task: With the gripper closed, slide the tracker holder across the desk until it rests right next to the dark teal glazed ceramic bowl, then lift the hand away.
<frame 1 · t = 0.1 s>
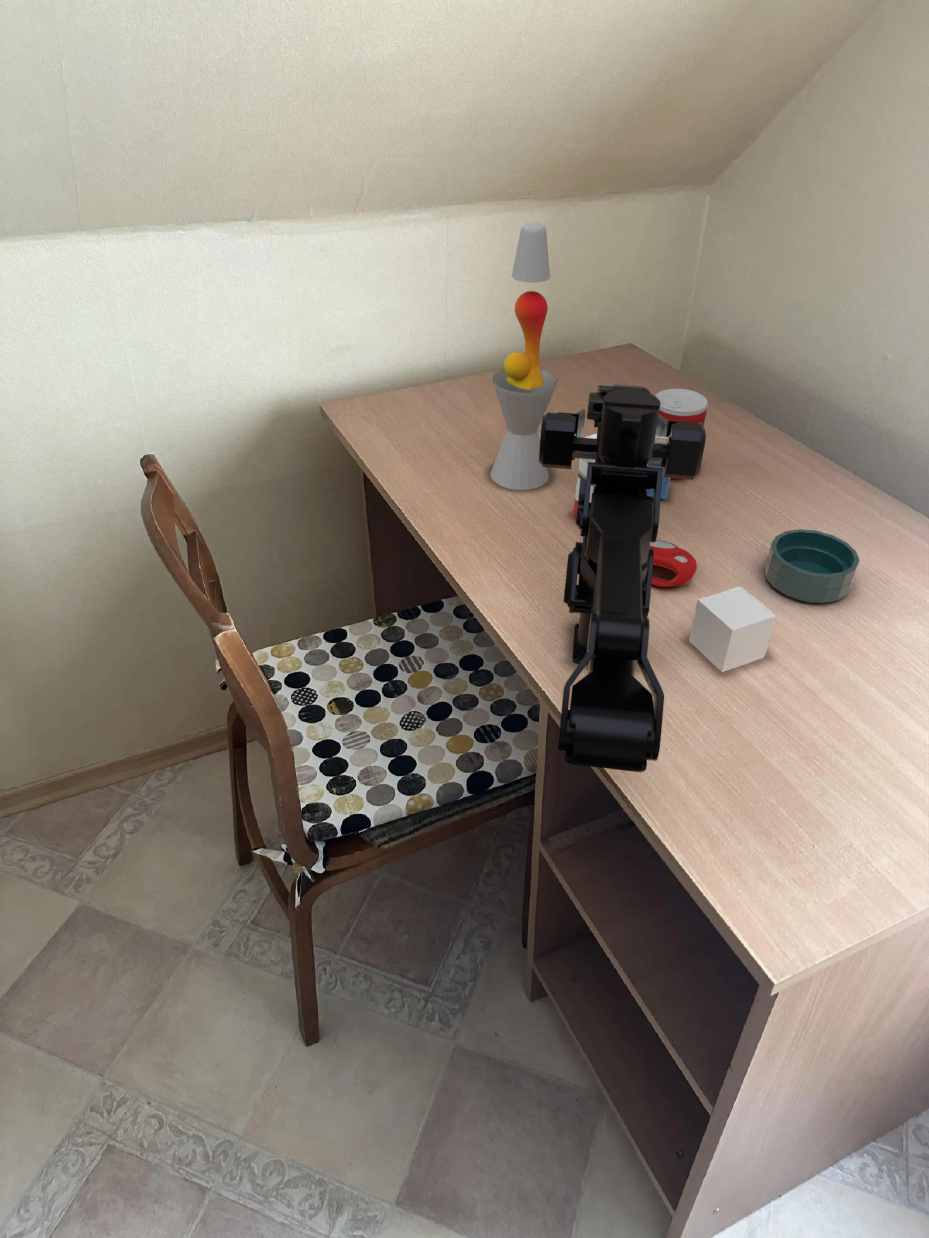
hand: (620, 415, 111), 17 cm above the table, tool horizontal, fingers open, 9 cm apart
lava lamp: (519, 476, 133), on the table
white cube: (725, 650, 102), on the table
ink box: (606, 515, 124), on the table
canned food: (668, 469, 135), on the table
bowl: (805, 581, 112), on the table
label tape box: (635, 493, 129), on the table
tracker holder: (644, 568, 114), on the table
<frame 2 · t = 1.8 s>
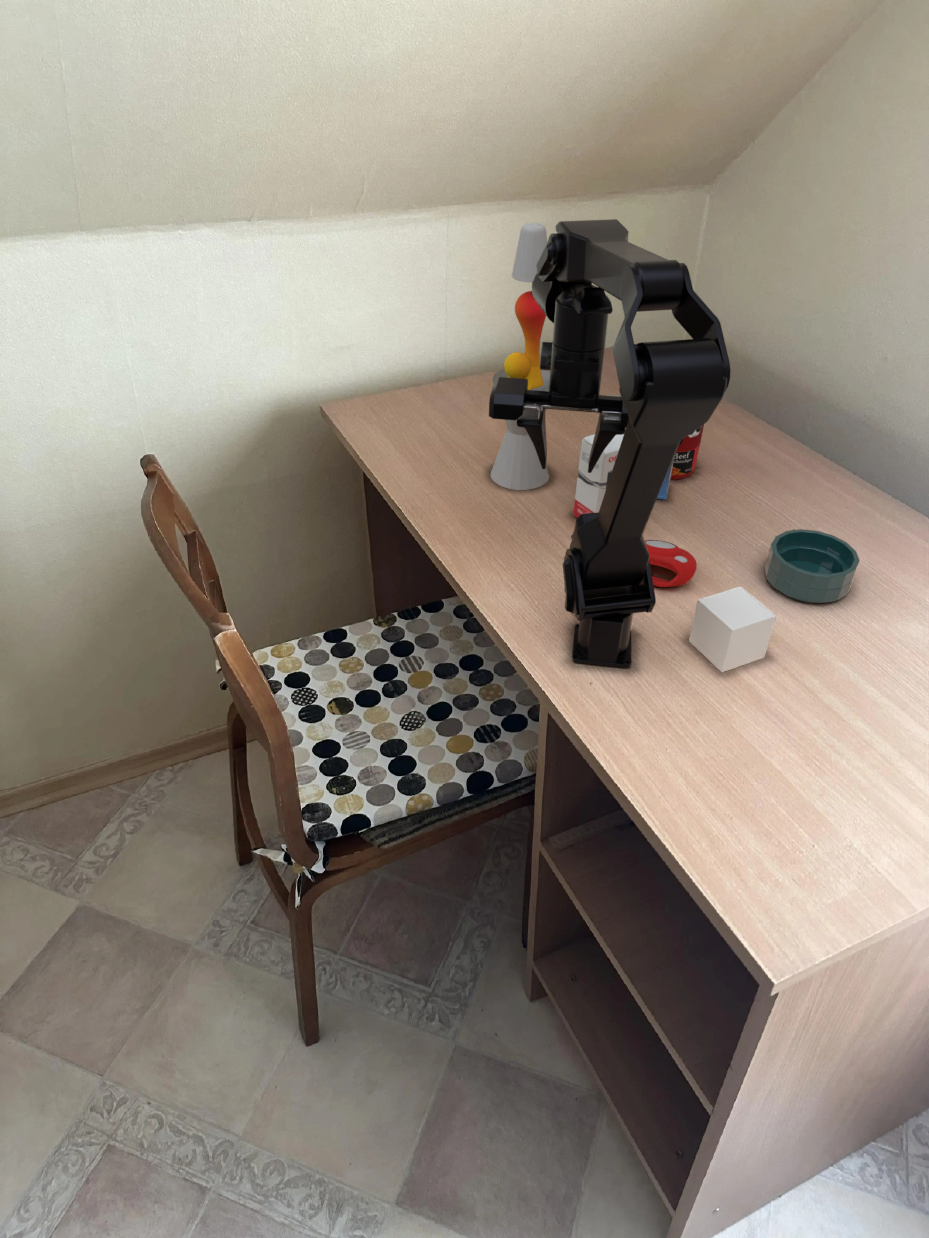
hand: (566, 469, 107), 13 cm above the table, tool pointing down, fingers open, 5 cm apart
nothing on the table moved.
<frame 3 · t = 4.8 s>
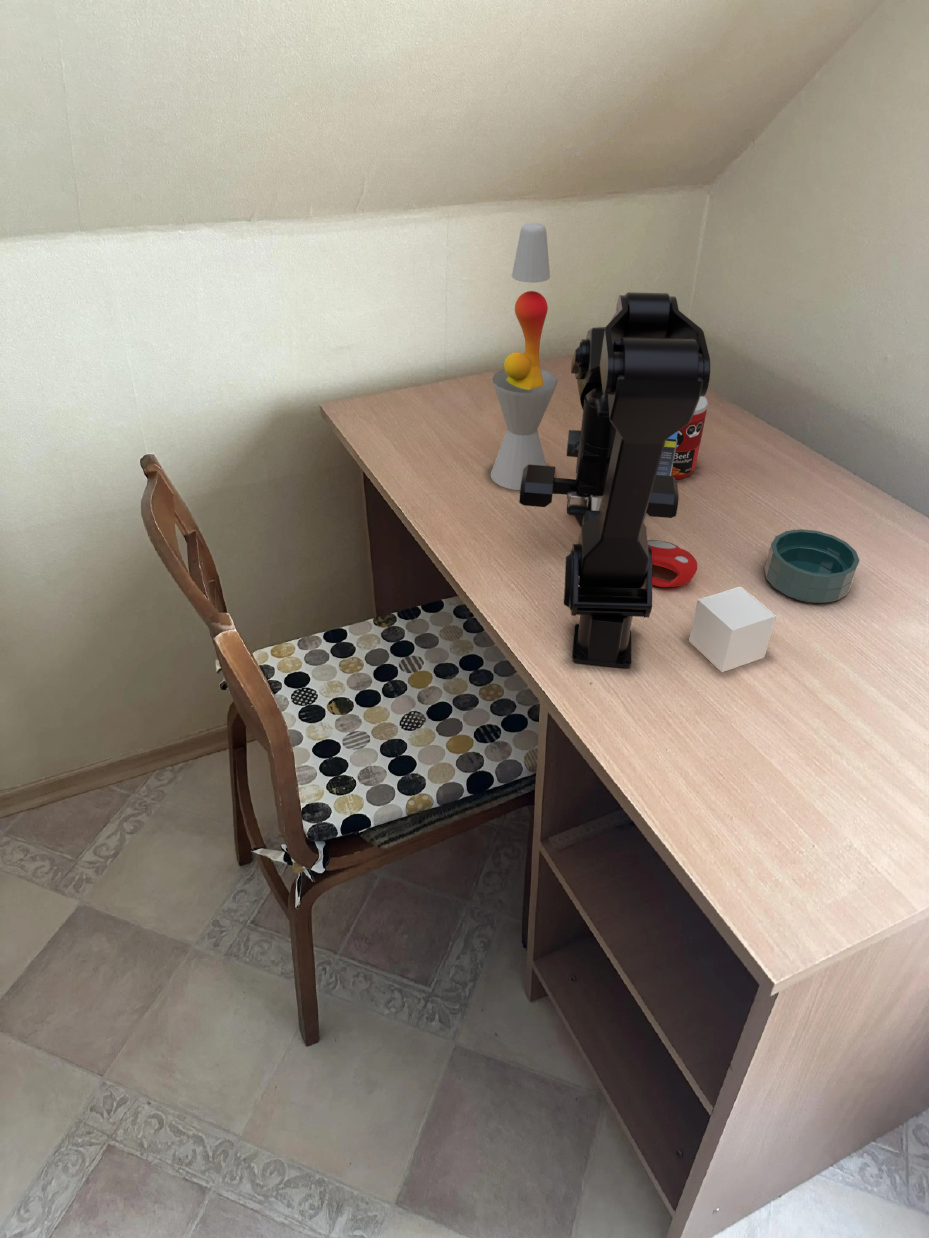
hand: (591, 548, 114), 2 cm above the table, tool pointing down, fingers closed
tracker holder: (644, 568, 114), on the table, touching gripper
everything else where it was.
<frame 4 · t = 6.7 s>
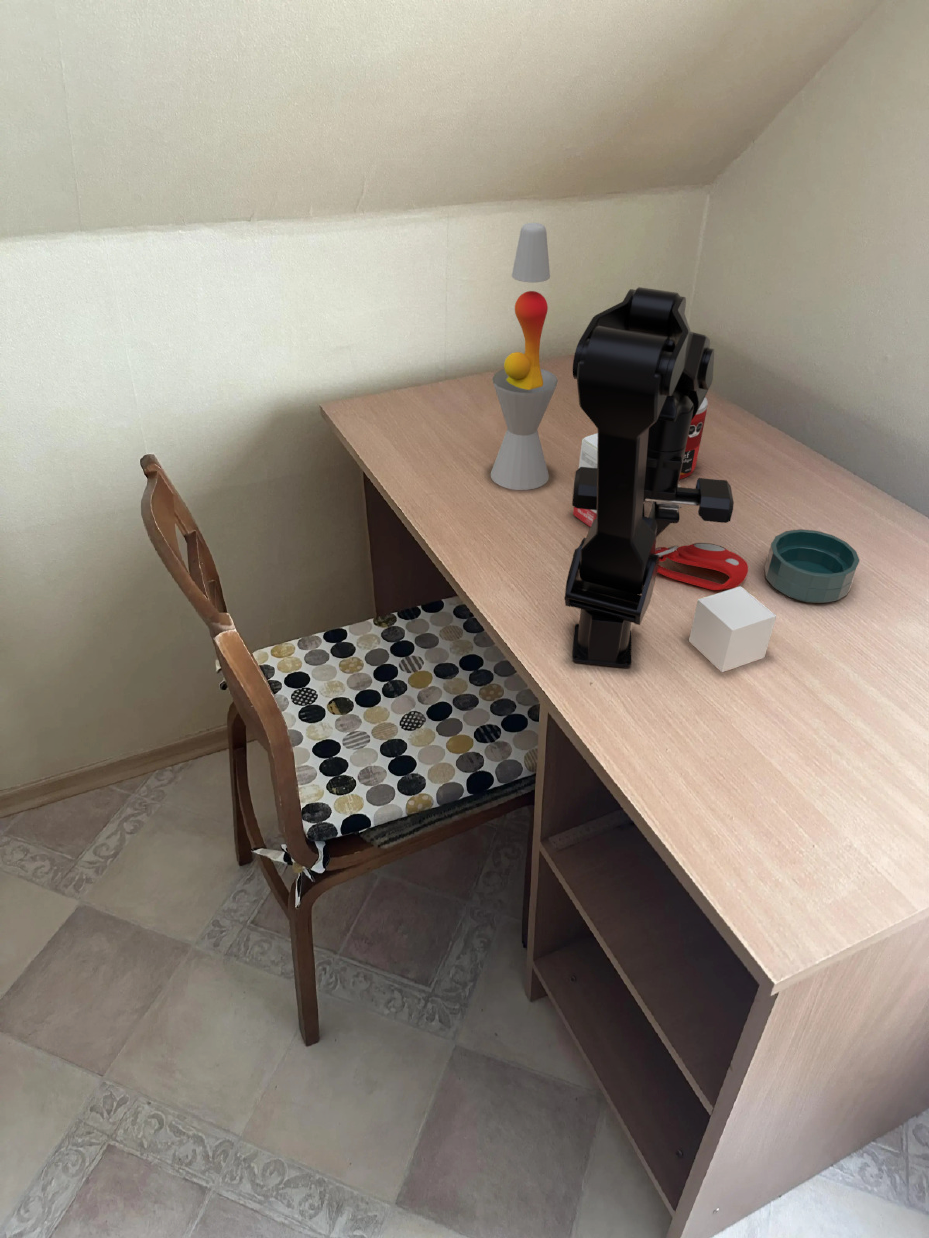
hand: (640, 552, 113), 2 cm above the table, tool pointing down, fingers closed
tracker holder: (693, 571, 114), on the table, touching gripper
everything else where it was.
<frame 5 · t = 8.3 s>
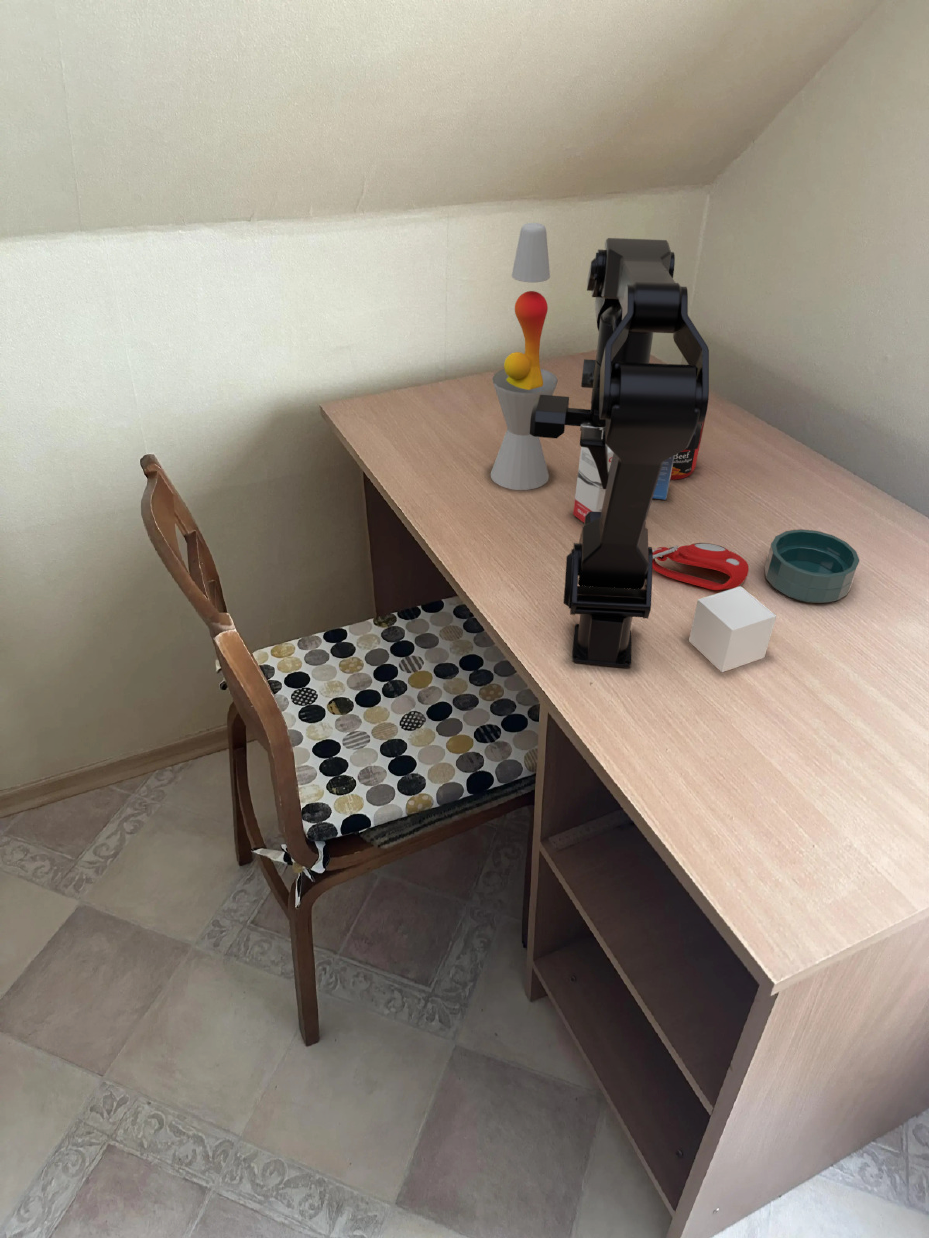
hand: (606, 487, 106), 12 cm above the table, tool pointing down, fingers closed
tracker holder: (693, 571, 114), on the table
everything else where it was.
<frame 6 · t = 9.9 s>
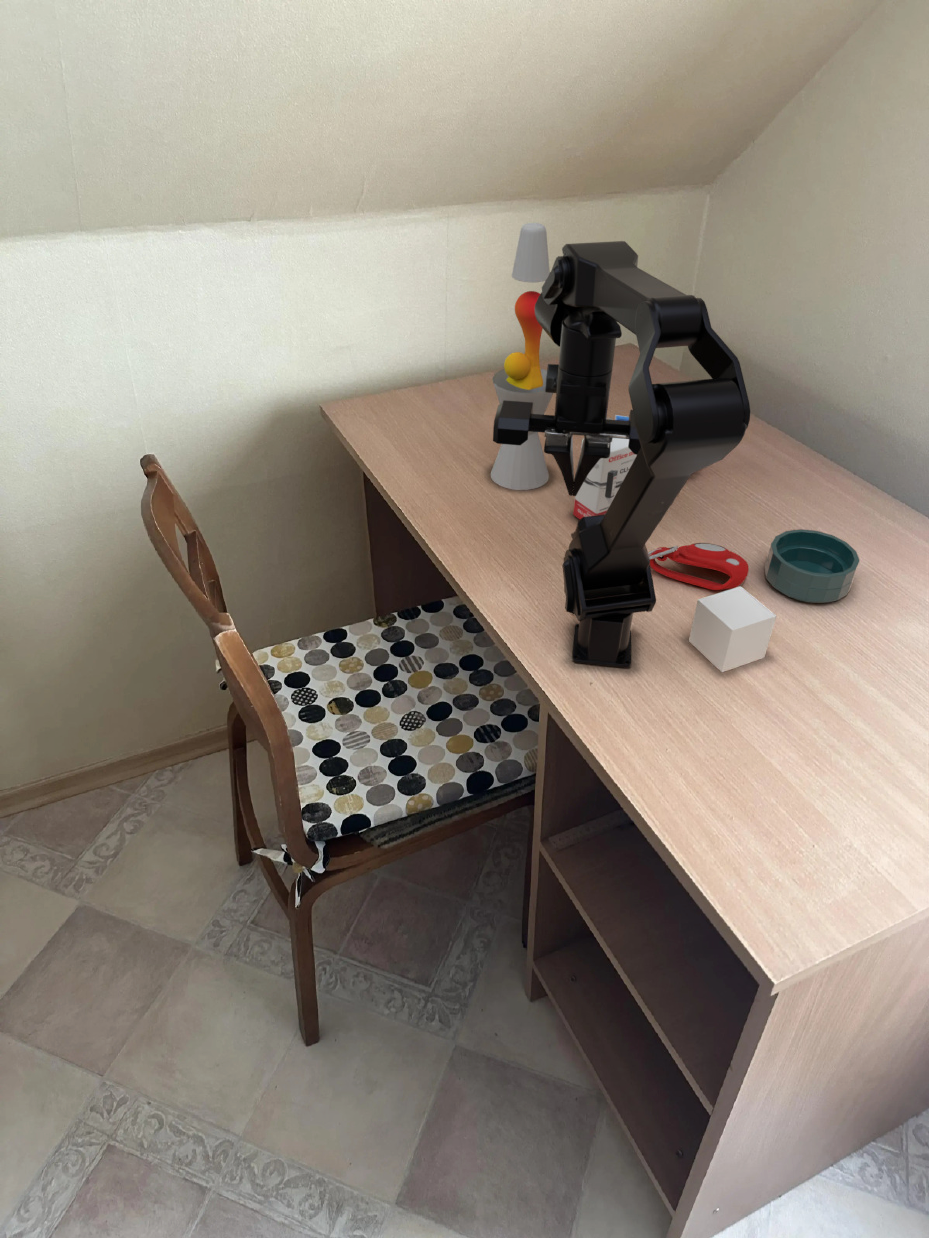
hand: (572, 494, 105), 12 cm above the table, tool pointing down, fingers closed
nothing on the table moved.
at the end: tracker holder 13.8 cm from the bowl (horizontally); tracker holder moved 6.2 cm from its start; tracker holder tilted 2° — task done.
